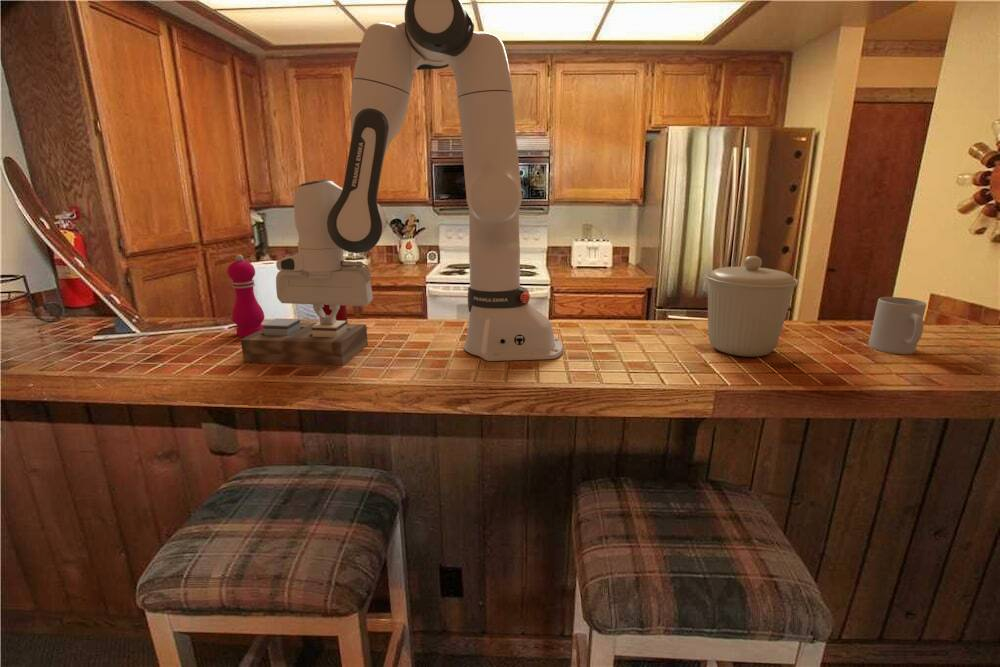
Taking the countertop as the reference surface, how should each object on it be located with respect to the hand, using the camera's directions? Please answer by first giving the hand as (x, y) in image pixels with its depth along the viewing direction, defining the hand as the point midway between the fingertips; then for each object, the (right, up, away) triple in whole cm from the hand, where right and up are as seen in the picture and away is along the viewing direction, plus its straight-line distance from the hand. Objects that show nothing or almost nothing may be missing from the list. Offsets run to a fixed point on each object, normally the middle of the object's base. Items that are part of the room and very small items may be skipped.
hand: (328, 323), depth 109 cm
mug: (+126, -6, +2) cm, 126 cm away
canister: (+92, -6, +3) cm, 92 cm away
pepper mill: (-25, -2, +18) cm, 31 cm away
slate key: (-11, -4, +3) cm, 12 cm away
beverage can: (-6, -1, +22) cm, 23 cm away
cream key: (0, -5, +1) cm, 5 cm away
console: (-5, -6, +3) cm, 9 cm away
